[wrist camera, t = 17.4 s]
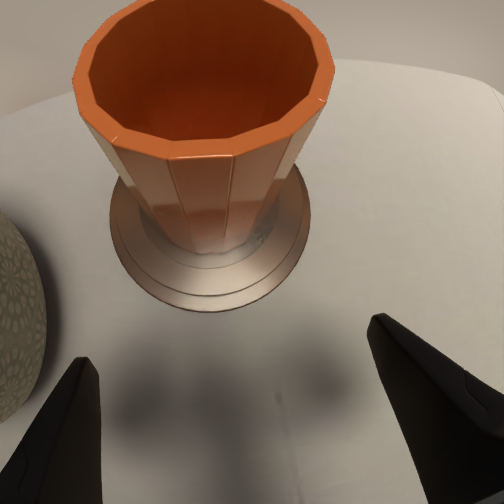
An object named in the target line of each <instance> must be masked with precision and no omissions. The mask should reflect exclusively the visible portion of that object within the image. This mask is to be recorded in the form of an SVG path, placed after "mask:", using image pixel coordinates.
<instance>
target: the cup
mask: <svg viewBox="0 0 504 504" xmlns="http://www.w3.org/2000/svg"><path fill="white" fill-rule="evenodd" d="M334 74H335V66H334V62H333V59H332V56H331V53H330V50H329V47H328V44H327V41H326V38H325V37H324V35H323V34H322V33H321V32H320V31H319V29H318V28H317V27H316V26H315V25H314V24H313V23H312V22H311V21H310V20H309V19H308V18H307V17H306V16H305V15H304V14H303V13H302V12H301V11H300V10H299V9H297V8H295V7H293V6H291V5H289V4H288V3H286V2H284V1H282V0H137V1H136V2H134V3H132V4H130V5H129V6H127V7H125V8H124V9H122V10H120V11H119V12H117V13H115V14H114V15H112V16H111V17H110V18H108V19H107V20H106V21H105V22H104V23H103V24H102V25H101V26H100V28H99V29H98V30H97V31H96V32H95V33H94V34H93V35H92V37H91V38H90V39H89V40H88V41H87V43H86V44H85V45H84V47H83V48H82V51H81V54H80V57H79V60H78V62H77V65H76V69H75V72H74V75H73V78H72V83H73V88H74V93H75V97H76V101H77V106H78V110H79V114H80V116H81V117H82V119H83V121H84V122H85V124H86V125H87V127H88V128H89V130H90V132H91V133H92V135H93V136H94V138H95V139H96V141H97V142H98V144H99V145H100V147H101V149H102V150H103V152H104V153H105V155H106V156H107V158H108V159H109V161H110V162H111V164H112V165H113V167H114V168H115V169H116V171H117V172H118V174H119V175H120V177H121V178H122V180H123V181H124V183H125V184H126V186H127V187H128V188H129V190H130V191H131V193H132V194H133V196H134V197H135V198H136V200H137V201H138V203H139V204H140V206H141V207H142V208H143V210H144V211H145V213H146V214H147V215H148V217H149V218H150V220H151V221H152V222H153V224H154V225H155V226H156V228H157V229H158V230H159V231H160V232H161V233H162V234H163V235H164V236H165V237H166V238H167V239H168V240H169V241H170V242H171V243H172V244H174V245H176V246H177V247H179V248H181V249H183V250H185V251H188V252H191V253H195V254H202V255H212V254H220V253H223V252H227V251H230V250H232V249H234V248H236V247H238V246H240V245H241V244H243V243H244V242H245V241H247V240H248V239H249V238H250V237H251V236H252V235H253V234H254V233H255V231H256V230H257V229H258V227H259V226H260V225H261V224H262V222H263V220H264V218H265V216H266V214H267V213H268V211H269V209H270V207H271V205H272V203H273V201H274V200H275V198H276V196H277V194H278V192H279V190H280V188H281V186H282V185H283V183H284V181H285V179H286V177H287V175H288V173H289V172H290V170H291V168H292V166H293V164H294V162H295V160H296V158H297V157H298V155H299V153H300V151H301V149H302V147H303V145H304V144H305V142H306V140H307V138H308V136H309V134H310V132H311V131H312V129H313V127H314V125H315V123H316V121H317V119H318V118H319V116H320V114H321V112H322V110H323V108H324V106H325V105H326V103H327V99H328V95H329V92H330V88H331V85H332V81H333V77H334Z"/></svg>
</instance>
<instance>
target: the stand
mask: <svg viewBox="0 0 504 504" xmlns="http://www.w3.org/2000/svg"><path fill="white" fill-rule="evenodd" d="M310 217H311V213H310V201H309V196H308V191H307V188H306V185H305V182H304V179H303V177H302V175H301V173H300V171H299V169H298V167H297V166H296V164H295V163H294V164H293V166H292V168H291V170H290V172H289V173H288V175H287V177H286V179H285V181H284V183H283V185H282V186H281V188H280V190H279V192H278V194H277V196H276V198H275V200H274V201H273V203H272V205H271V207H270V209H269V211H268V213H267V214H266V216H265V218H264V220H263V222H262V224H261V225H260V226H259V227H258V229H257V230H256V231H255V233H254V234H253V235H252V236H251V237H250V238H249V239H248V240H247V241H245V242H244V243H243V244H241V245H240V246H238V247H236V248H234V249H232V250H230V251H227V252H223V253H220V254H212V255H202V254H195V253H191V252H188V251H185V250H183V249H181V248H179V247H177V246H176V245H174V244H172V243H171V242H170V241H169V240H168V239H167V238H166V237H165V236H164V235H163V234H162V233H161V232H160V231H159V230H158V229H157V228H156V226H155V225H154V224H153V222H152V221H151V220H150V218H149V217H148V215H147V214H146V213H145V211H144V210H143V208H142V207H141V206H140V204H139V203H138V201H137V200H136V198H135V197H134V196H133V194H132V193H131V191H130V190H129V188H128V187H127V186H126V184H125V183H124V181H123V180H122V178H121V177H120V175H119V177H118V180H117V182H116V185H115V187H114V191H113V195H112V199H111V205H110V230H111V236H112V241H113V244H114V247H115V250H116V253H117V255H118V257H119V259H120V261H121V263H122V265H123V266H124V268H125V269H126V271H127V272H128V274H129V275H130V276H131V277H132V278H133V280H134V281H135V282H136V283H137V284H138V285H139V286H140V287H141V288H143V289H144V290H145V291H146V292H147V293H149V294H150V295H152V296H153V297H155V298H157V299H158V300H160V301H162V302H164V303H166V304H169V305H171V306H173V307H177V308H180V309H184V310H187V311H194V312H223V311H230V310H233V309H237V308H241V307H244V306H246V305H249V304H251V303H253V302H256V301H257V300H259V299H261V298H263V297H264V296H266V295H268V294H269V293H270V292H271V291H273V290H274V289H275V288H276V287H278V286H279V285H280V284H281V283H282V282H283V281H284V280H285V279H286V278H287V277H288V275H289V274H290V273H291V271H292V270H293V269H294V267H295V266H296V264H297V262H298V261H299V259H300V257H301V255H302V253H303V250H304V248H305V245H306V242H307V238H308V234H309V229H310Z"/></svg>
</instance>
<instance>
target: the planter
mask: <svg viewBox="0 0 504 504" xmlns="http://www.w3.org/2000/svg"><path fill="white" fill-rule="evenodd" d="M46 332H47V319H46V305H45V298H44V292H43V287H42V283H41V279H40V275H39V272H38V268H37V265H36V263H35V260H34V258H33V255H32V253H31V251H30V249H29V247H28V245H27V243H26V241H25V240H24V238H23V236H22V235H21V233H20V232H19V231H18V229H17V228H16V227H15V225H14V224H13V223H12V222H11V221H10V220H9V219H8V218H7V217H6V216H5V215H4V214H3V213H2V212H1V211H0V423H2V422H3V421H4V420H6V419H7V418H9V417H10V416H11V415H13V414H14V413H15V412H16V411H17V410H18V409H19V408H20V407H21V406H22V405H23V403H24V402H25V401H26V399H27V398H28V396H29V395H30V393H31V391H32V389H33V387H34V385H35V383H36V381H37V379H38V376H39V373H40V370H41V366H42V362H43V358H44V352H45V345H46Z"/></svg>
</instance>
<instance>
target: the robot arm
mask: <svg viewBox="0 0 504 504" xmlns="http://www.w3.org/2000/svg"><path fill="white" fill-rule="evenodd" d="M367 339H368V342H369V345H370V348H371V351H372V355H373V358H374V361H375V364H376V368H377V371H378V374H379V377H380V379H381V382H382V384H383V386H384V389H385V391H386V394H387V396H388V398H389V401H390V403H391V405H392V408H393V410H394V413H395V415H396V418H397V420H398V423H399V425H400V428H401V430H402V433H403V435H404V438H405V440H406V443H407V445H408V448H409V451H410V453H411V456H412V459H413V461H414V464H415V467H416V469H417V472H418V475H419V478H420V481H421V484H422V486H423V489H424V492H425V495H426V498H427V501H428V504H504V395H503V394H502V393H500V392H498V391H497V390H495V389H493V388H492V387H490V386H488V385H487V384H485V383H484V382H482V381H481V380H479V379H478V378H476V377H475V376H473V375H472V374H471V373H469V372H468V371H466V370H464V369H463V368H462V367H461V366H459V365H458V364H457V363H455V362H454V361H452V360H451V359H450V358H448V357H447V356H445V355H444V354H443V353H441V352H440V351H438V350H437V349H436V348H434V347H433V346H431V345H430V344H428V343H427V342H426V341H424V340H423V339H421V338H420V337H419V336H417V335H416V334H414V333H413V332H411V331H410V330H409V329H407V328H406V327H404V326H403V325H401V324H400V323H399V322H397V321H396V320H394V319H393V318H391V317H390V316H388V315H387V314H385V313H380V314H376V315H373V316H372V318H371V321H370V324H369V327H368V330H367ZM0 504H103V501H102V482H101V406H100V388H99V375H98V372H97V370H96V369H95V367H94V366H93V364H92V363H91V361H90V359H89V358H87V357H77V358H75V359H74V360H73V362H72V363H71V364H70V366H69V367H68V369H67V370H66V372H65V373H64V375H63V376H62V377H61V379H60V380H59V382H58V383H57V385H56V386H55V388H54V389H53V391H52V392H51V394H50V395H49V397H48V398H47V400H46V401H45V403H44V405H43V406H42V408H41V409H40V411H39V412H38V414H37V415H36V417H35V419H34V420H33V422H32V423H31V425H30V427H29V428H28V430H27V432H26V433H25V435H24V437H23V438H22V441H20V443H19V445H18V446H17V448H16V450H15V451H14V453H13V455H12V456H11V458H10V459H9V461H8V462H7V464H6V465H5V467H4V468H3V470H2V471H1V473H0Z"/></svg>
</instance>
